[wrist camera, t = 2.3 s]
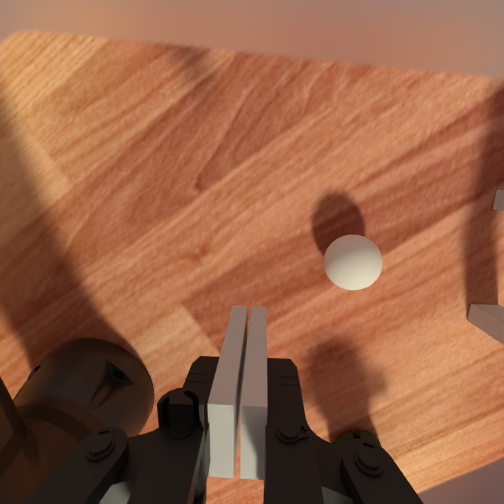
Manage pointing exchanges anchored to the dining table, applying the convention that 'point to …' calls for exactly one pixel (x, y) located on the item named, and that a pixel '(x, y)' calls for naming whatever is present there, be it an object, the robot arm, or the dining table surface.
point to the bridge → (484, 315)
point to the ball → (353, 262)
